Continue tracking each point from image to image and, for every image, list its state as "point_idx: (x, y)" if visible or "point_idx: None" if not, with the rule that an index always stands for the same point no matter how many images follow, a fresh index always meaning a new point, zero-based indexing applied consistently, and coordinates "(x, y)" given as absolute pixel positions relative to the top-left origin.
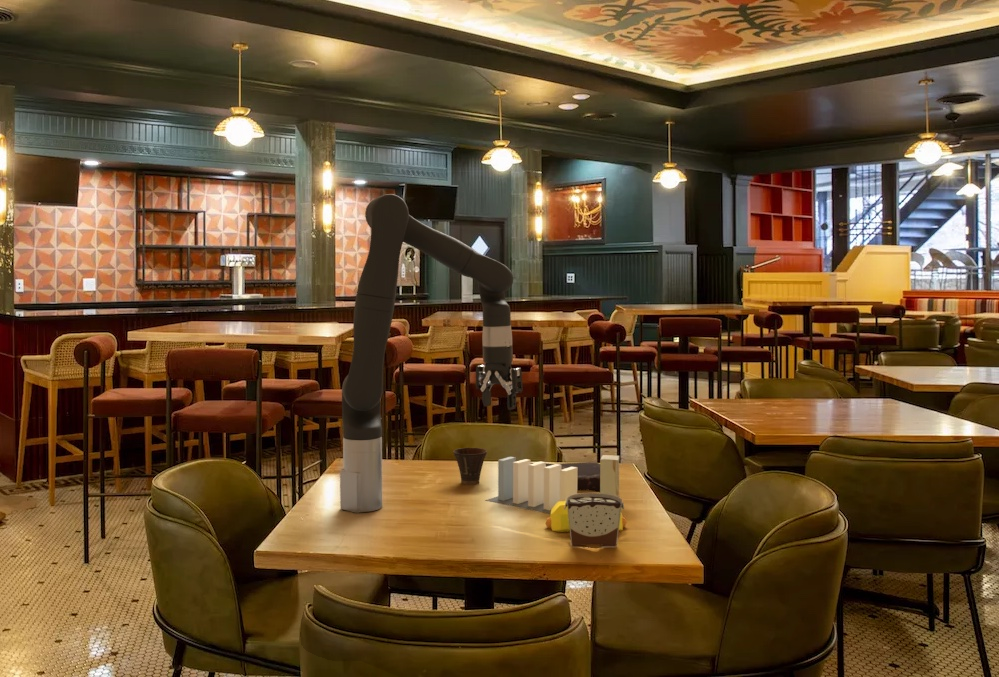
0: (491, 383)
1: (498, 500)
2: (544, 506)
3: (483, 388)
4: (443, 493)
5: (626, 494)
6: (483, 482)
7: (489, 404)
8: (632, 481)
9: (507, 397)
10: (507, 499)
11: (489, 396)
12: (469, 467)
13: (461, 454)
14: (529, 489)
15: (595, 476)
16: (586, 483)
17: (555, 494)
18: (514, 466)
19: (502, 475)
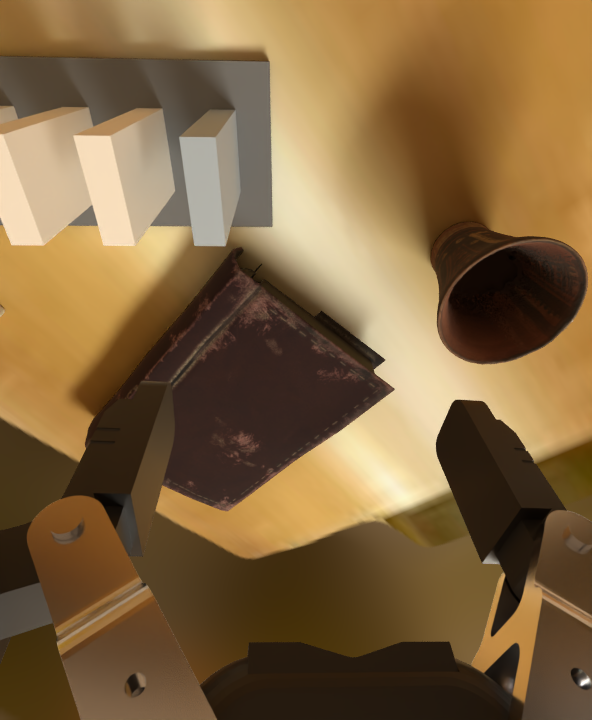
0: (491, 658)
1: (226, 99)
2: (4, 107)
3: (566, 550)
4: (496, 76)
5: (51, 409)
6: (435, 298)
7: (443, 440)
8: None
9: (132, 466)
10: None
11: (469, 502)
12: (470, 245)
13: (523, 239)
14: (53, 115)
15: None
16: (123, 389)
17: None
18: (106, 131)
19: (198, 123)
